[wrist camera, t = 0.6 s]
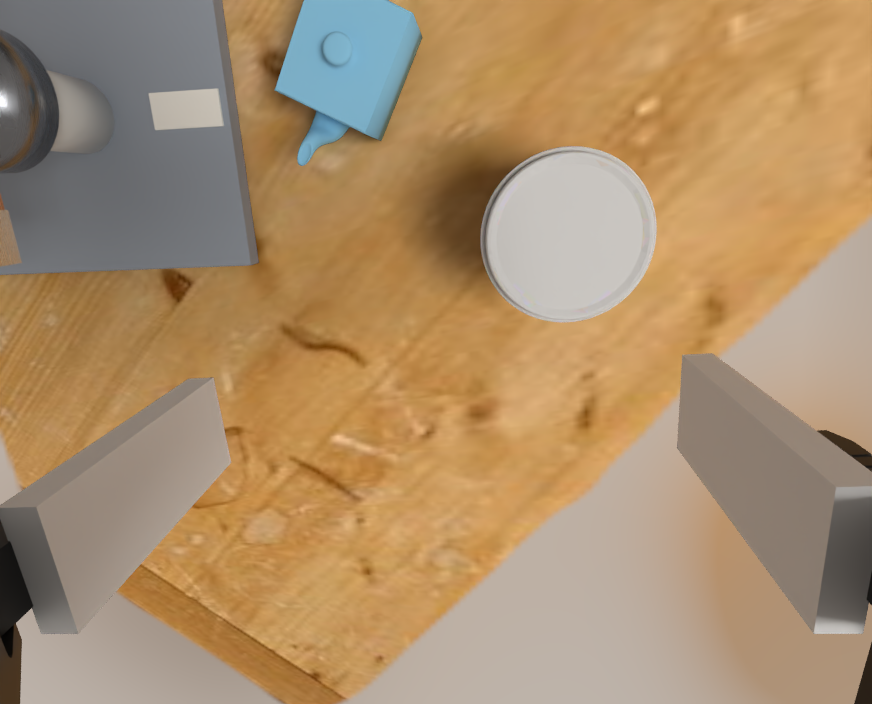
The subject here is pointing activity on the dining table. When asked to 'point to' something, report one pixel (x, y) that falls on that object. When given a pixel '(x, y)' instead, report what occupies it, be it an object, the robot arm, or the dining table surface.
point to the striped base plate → (132, 140)
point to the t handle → (22, 123)
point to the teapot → (348, 66)
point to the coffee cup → (568, 234)
